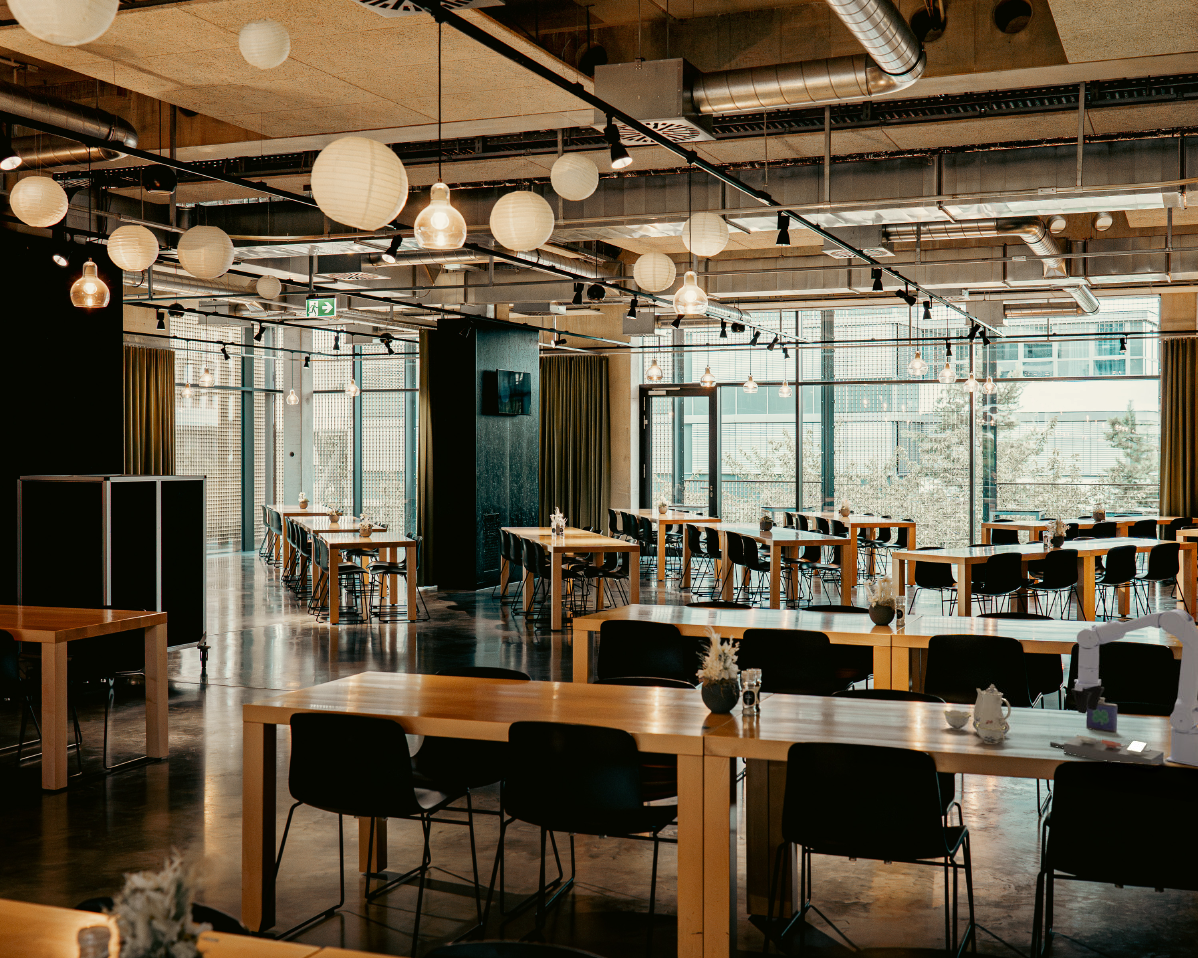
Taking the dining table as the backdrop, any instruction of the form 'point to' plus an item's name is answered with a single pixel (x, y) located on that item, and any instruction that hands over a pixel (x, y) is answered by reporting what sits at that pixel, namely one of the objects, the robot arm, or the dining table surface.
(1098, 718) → the dark blue box
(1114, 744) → the rocker middle
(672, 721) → the dining table surface
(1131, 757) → the power strip
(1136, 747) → the rocker
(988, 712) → the chinaware
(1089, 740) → the rocker
